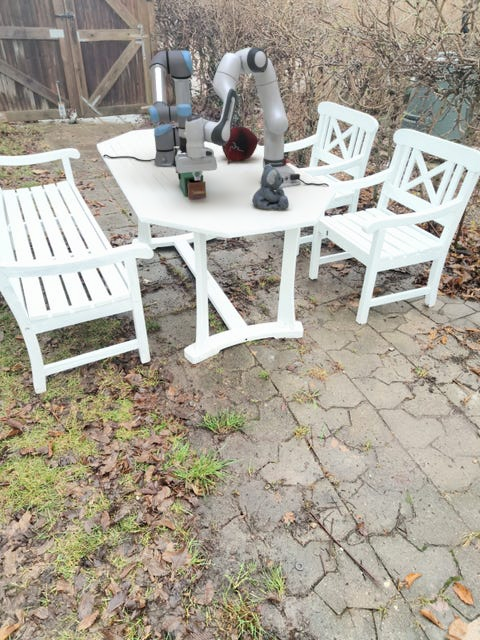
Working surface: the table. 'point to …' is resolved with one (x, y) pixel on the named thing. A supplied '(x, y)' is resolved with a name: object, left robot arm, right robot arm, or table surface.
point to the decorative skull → (240, 144)
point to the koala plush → (270, 191)
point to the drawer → (196, 188)
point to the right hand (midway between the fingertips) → (197, 180)
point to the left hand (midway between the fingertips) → (189, 177)
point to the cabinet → (187, 176)
